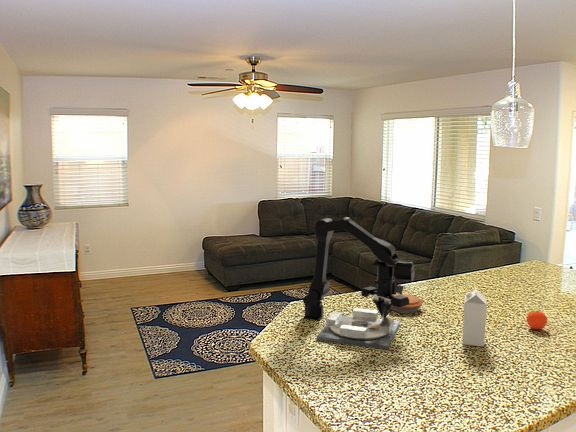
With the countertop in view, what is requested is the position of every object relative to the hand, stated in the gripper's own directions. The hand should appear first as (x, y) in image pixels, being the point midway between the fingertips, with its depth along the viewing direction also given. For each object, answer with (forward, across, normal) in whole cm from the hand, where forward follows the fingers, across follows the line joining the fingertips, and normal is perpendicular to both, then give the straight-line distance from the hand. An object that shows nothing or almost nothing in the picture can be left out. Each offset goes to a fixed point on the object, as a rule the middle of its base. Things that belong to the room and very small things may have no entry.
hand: (384, 318), depth 195 cm
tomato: (+4, -36, -43) cm, 56 cm away
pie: (+4, +10, -24) cm, 26 cm away
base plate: (+4, +3, +10) cm, 11 cm away
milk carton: (+4, -29, -14) cm, 32 cm away
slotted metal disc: (+2, +3, +10) cm, 11 cm away
